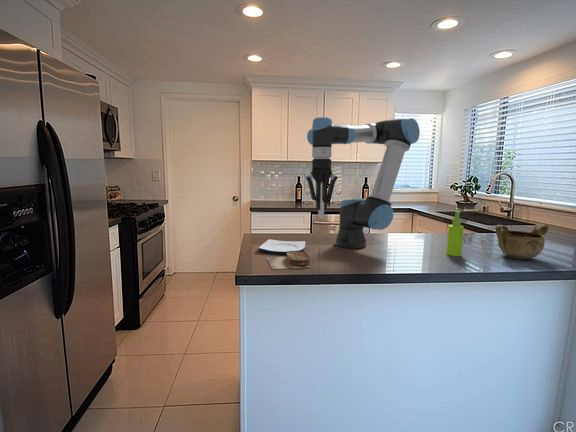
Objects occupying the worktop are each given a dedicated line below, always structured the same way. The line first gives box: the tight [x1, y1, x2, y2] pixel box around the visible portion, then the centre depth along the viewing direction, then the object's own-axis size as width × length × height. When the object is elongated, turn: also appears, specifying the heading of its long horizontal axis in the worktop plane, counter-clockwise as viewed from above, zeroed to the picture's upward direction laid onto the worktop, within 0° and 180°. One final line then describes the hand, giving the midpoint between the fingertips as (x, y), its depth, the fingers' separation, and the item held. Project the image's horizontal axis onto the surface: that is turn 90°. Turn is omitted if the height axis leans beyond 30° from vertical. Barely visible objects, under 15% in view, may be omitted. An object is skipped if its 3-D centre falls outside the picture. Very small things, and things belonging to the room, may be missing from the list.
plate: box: [258, 239, 306, 255], centre depth 156 cm, size 20×20×3 cm
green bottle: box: [446, 209, 465, 257], centre depth 150 cm, size 6×7×20 cm
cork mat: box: [265, 256, 312, 271], centre depth 135 cm, size 15×16×1 cm
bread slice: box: [285, 250, 311, 266], centre depth 136 cm, size 15×3×8 cm
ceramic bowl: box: [495, 223, 549, 260], centre depth 146 cm, size 22×17×15 cm
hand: (321, 217), depth 135 cm, fingers closed
